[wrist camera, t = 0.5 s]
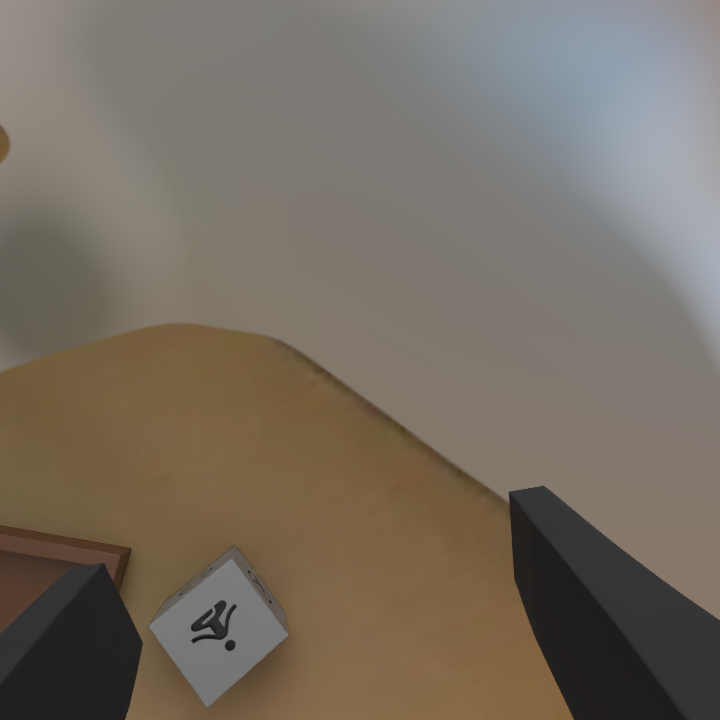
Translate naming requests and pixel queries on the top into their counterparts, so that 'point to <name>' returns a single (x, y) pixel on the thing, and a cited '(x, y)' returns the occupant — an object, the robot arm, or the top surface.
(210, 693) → the dice cube
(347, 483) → the top surface
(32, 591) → the tray
